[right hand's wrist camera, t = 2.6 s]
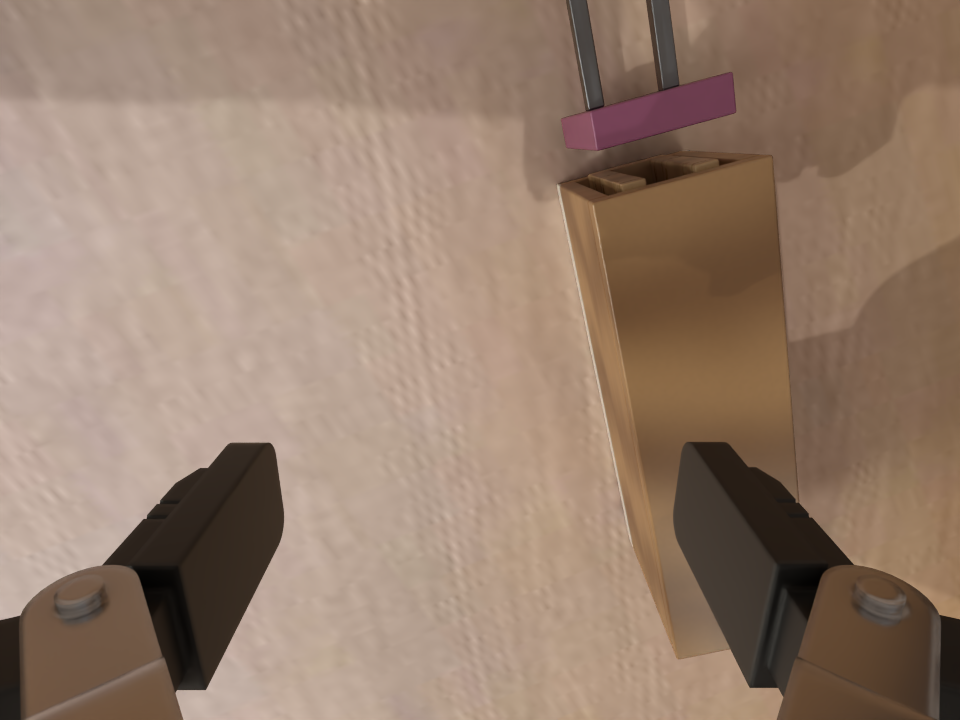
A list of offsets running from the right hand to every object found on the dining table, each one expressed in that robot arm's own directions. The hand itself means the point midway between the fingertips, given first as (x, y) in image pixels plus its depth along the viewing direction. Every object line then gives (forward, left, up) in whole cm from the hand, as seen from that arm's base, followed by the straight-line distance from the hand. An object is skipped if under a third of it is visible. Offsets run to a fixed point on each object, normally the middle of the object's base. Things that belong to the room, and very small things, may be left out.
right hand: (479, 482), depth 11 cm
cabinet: (+9, +4, -17) cm, 20 cm away
